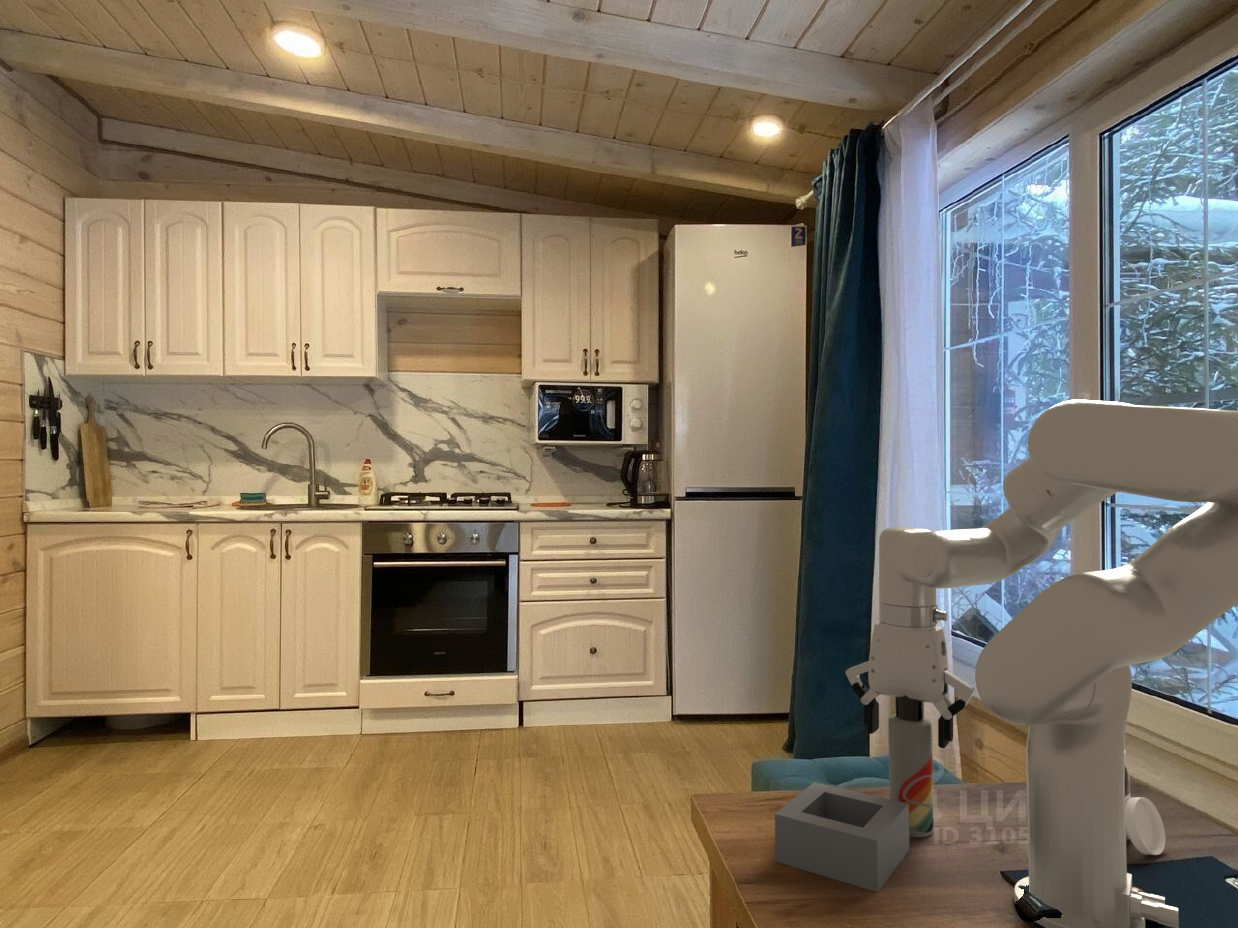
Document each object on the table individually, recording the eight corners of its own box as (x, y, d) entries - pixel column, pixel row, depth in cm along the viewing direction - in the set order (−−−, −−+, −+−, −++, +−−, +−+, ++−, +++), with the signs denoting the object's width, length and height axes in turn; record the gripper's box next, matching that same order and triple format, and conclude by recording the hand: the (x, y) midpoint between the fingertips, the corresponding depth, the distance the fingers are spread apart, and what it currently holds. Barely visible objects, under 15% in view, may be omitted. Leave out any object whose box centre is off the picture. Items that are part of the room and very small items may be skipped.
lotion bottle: (937, 839, 105) (934, 690, 105) (893, 836, 106) (890, 688, 106) (929, 821, 110) (926, 680, 111) (887, 818, 111) (885, 678, 112)
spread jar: (1066, 813, 113) (1064, 732, 113) (1161, 830, 107) (1158, 745, 107) (1065, 846, 103) (1063, 757, 103) (1169, 867, 97) (1167, 773, 97)
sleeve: (909, 849, 102) (908, 803, 102) (877, 892, 91) (876, 840, 91) (814, 824, 109) (814, 781, 110) (775, 861, 99) (774, 813, 99)
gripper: (979, 618, 107) (980, 743, 107) (855, 605, 117) (855, 719, 117) (967, 627, 101) (967, 759, 101) (837, 613, 111) (837, 733, 111)
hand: (907, 737), depth 109 cm, fingers open, 9 cm apart
